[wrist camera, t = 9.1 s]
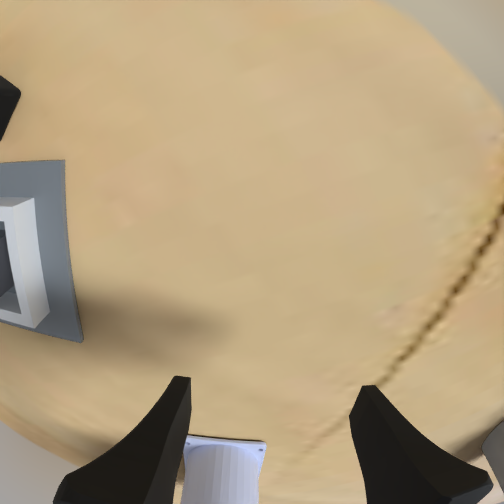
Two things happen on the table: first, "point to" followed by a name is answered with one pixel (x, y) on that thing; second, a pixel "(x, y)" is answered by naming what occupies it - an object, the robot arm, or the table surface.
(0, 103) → the battery
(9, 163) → the end holder
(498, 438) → the coffee mug
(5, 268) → the block
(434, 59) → the table surface
